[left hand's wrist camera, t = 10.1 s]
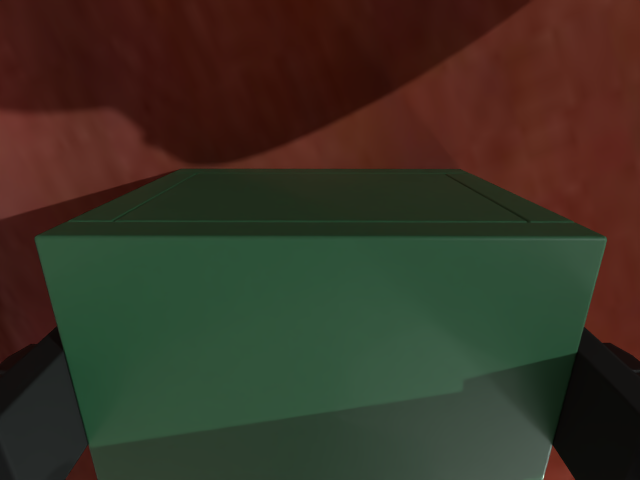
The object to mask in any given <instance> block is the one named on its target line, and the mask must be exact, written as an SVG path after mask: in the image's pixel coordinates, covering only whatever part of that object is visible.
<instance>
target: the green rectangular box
mask: <svg viewBox="0 0 640 480" xmlns="http://www.w3.org/2000/svg"><path fill="white" fill-rule="evenodd" d="M34 240H35V244H36V247H37V251H38V255H39V259H40V263H41V266H42V270H43V274H44V278H45V282H46V285H47V289H48V293H49V297H50V301H51V304H52V308H53V312H54V316H55V320H56V323H57V327H58V331H59V335H60V339H61V342H62V346H63V350H64V354H65V358H66V361H67V365H68V369H69V373H70V377H71V380H72V384H73V388H74V392H75V396H76V399H77V403H78V407H79V411H80V415H81V418H82V422H83V426H84V430H85V434H86V437H87V441H88V445H89V449H90V453H91V456H92V460H93V464H94V468H95V472H96V475H97V479H98V480H543V478H544V474H545V471H546V467H547V463H548V459H549V456H550V452H551V448H552V444H553V441H554V437H555V433H556V429H557V426H558V422H559V418H560V414H561V411H562V407H563V403H564V399H565V396H566V392H567V388H568V384H569V381H570V377H571V373H572V369H573V366H574V362H575V358H576V354H577V351H578V347H579V343H580V339H581V336H582V332H583V328H584V324H585V321H586V317H587V313H588V309H589V306H590V302H591V298H592V294H593V291H594V287H595V283H596V279H597V276H598V272H599V268H600V264H601V261H602V257H603V253H604V249H605V246H606V242H607V238H606V237H605V236H603V235H601V234H599V233H596V232H594V231H592V230H590V229H588V228H586V227H584V226H581V225H579V224H577V223H574V222H573V221H571V220H569V219H567V218H565V217H563V216H560V215H558V214H556V213H554V212H552V211H550V210H548V209H545V208H543V207H541V206H539V205H537V204H535V203H532V202H530V201H528V200H526V199H524V198H522V197H520V196H517V195H515V194H513V193H511V192H509V191H507V190H505V189H502V188H500V187H498V186H496V185H494V184H492V183H490V182H487V181H485V180H483V179H481V178H479V177H477V176H475V175H472V174H470V173H467V172H465V171H463V170H461V169H180V170H177V171H175V172H173V173H170V174H168V175H166V176H164V177H162V178H159V179H157V180H155V181H153V182H151V183H149V184H146V185H144V186H142V187H140V188H138V189H136V190H133V191H131V192H129V193H127V194H125V195H123V196H121V197H118V198H116V199H114V200H112V201H110V202H108V203H105V204H103V205H101V206H99V207H97V208H95V209H92V210H90V211H88V212H86V213H84V214H82V215H79V216H77V217H75V218H73V219H71V220H69V221H68V222H65V223H63V224H60V225H58V226H56V227H54V228H52V229H50V230H47V231H45V232H43V233H41V234H39V235H37V236H35V239H34Z"/></svg>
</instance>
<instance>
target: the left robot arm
mask: <svg viewBox="0 0 640 480" xmlns="http://www.w3.org/2000/svg"><path fill="white" fill-rule="evenodd" d="M87 445H88V441H87V437H86V434H85V430H84V426H83V422H82V418H81V415H80V411H79V407H78V403H77V399H76V396H75V392H74V388H73V384H72V380H71V377H70V373H69V369H68V365H67V361H66V358H65V354H64V350H63V346H62V342H61V339H60V335H59V331H58V327H56V328H55V329H53V330H52V331H51V332H50V333H49V334H48V335H47V336H46V337H45V338H43V339H42V340H41V341H40V342H39V343H38V344H30V345H29V346H27V347H25V348H23V349H21V350H20V351H18V352H16V353H14V354H13V355H11V356H9V357H8V358H6V359H5V360H4V361H3V362H2V363H1V364H0V480H65V479H66V477H67V476H68V474H69V473H70V471H71V470H72V468H73V467H74V465H75V464H76V462H77V460H78V459H79V457H80V456H81V454H82V453H83V451H84V450H85V448H86V447H87ZM553 446H554V448H555V449H556V451H557V452H558V454H559V455H560V457H561V458H562V460H563V461H564V463H565V464H566V466H567V467H568V469H569V471H570V472H571V474H572V475H573V477H574V478H575V480H640V361H638V360H637V359H636V358H635V357H634V356H633V355H631V354H629V353H627V352H625V351H624V350H622V349H620V348H618V347H616V346H615V345H613V344H611V343H601V342H600V341H599V340H598V339H597V338H596V337H595V336H594V335H593V334H591V333H590V332H589V331H588V330H587V329H586V328H585V327H584V328H583V332H582V336H581V339H580V343H579V347H578V351H577V354H576V358H575V362H574V366H573V369H572V373H571V377H570V381H569V384H568V388H567V392H566V396H565V399H564V403H563V407H562V411H561V414H560V418H559V422H558V426H557V429H556V433H555V437H554V441H553Z"/></svg>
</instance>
